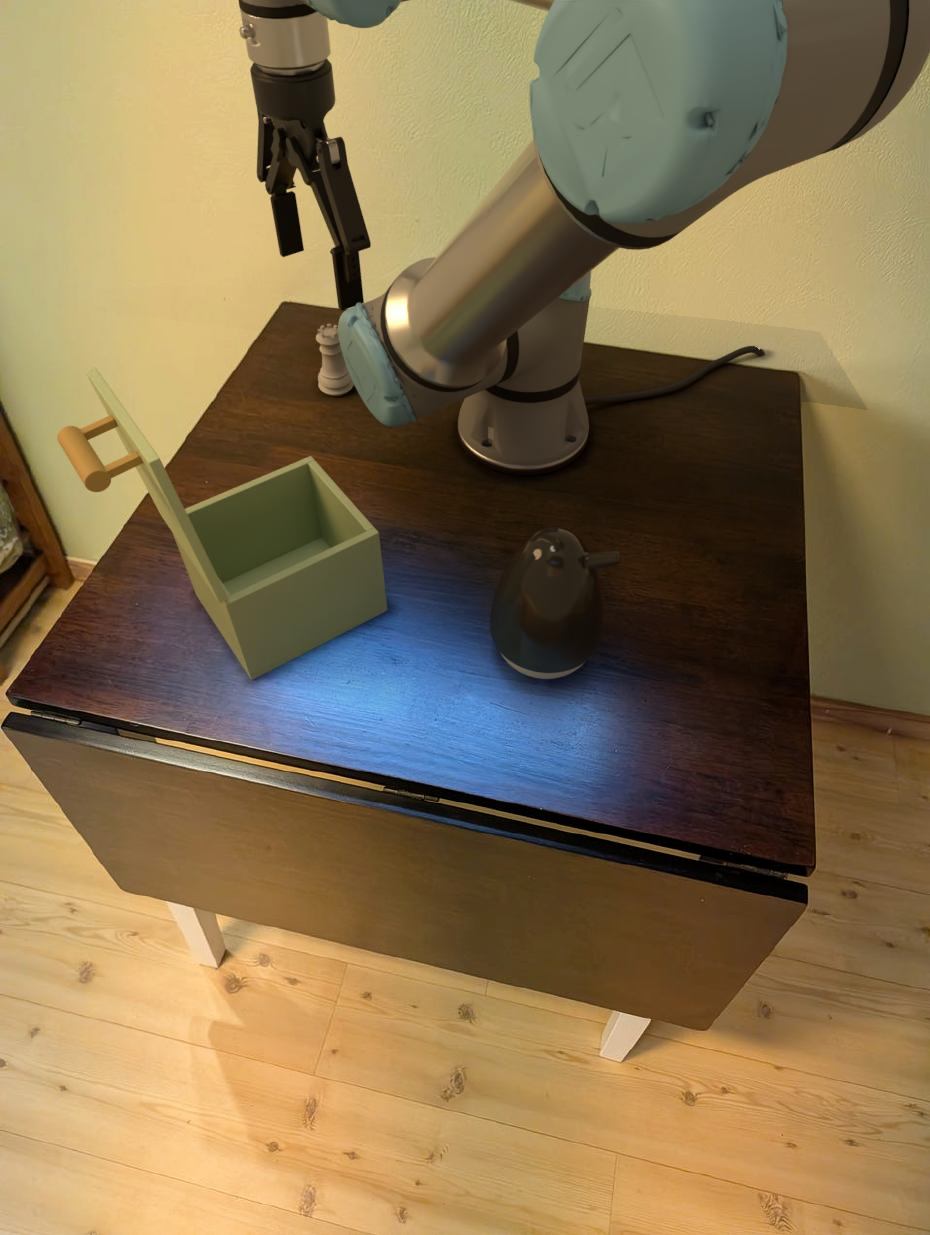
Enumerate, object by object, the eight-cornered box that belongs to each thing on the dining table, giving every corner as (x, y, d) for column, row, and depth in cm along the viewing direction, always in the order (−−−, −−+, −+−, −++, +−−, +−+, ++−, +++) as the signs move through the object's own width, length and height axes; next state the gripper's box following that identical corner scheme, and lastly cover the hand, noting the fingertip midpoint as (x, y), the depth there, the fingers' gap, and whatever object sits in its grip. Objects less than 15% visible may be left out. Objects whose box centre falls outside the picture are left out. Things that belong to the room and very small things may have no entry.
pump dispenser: (593, 705, 75) (617, 595, 64) (479, 686, 77) (482, 574, 65) (604, 618, 82) (628, 503, 70) (499, 602, 83) (504, 486, 71)
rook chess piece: (323, 375, 107) (314, 317, 101) (358, 377, 106) (351, 320, 100) (314, 396, 104) (305, 338, 98) (350, 399, 104) (342, 341, 97)
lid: (94, 366, 63) (29, 394, 61) (159, 457, 56) (88, 491, 55) (168, 510, 75) (116, 536, 74) (228, 599, 69) (172, 629, 67)
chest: (325, 535, 89) (311, 455, 81) (387, 610, 82) (379, 532, 74) (196, 594, 84) (166, 516, 75) (251, 680, 77) (225, 605, 69)
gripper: (196, 30, 83) (241, 241, 99) (319, 115, 70) (347, 341, 86) (265, 16, 85) (297, 224, 102) (396, 95, 72) (409, 318, 89)
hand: (320, 278), depth 94 cm, fingers open, 13 cm apart
